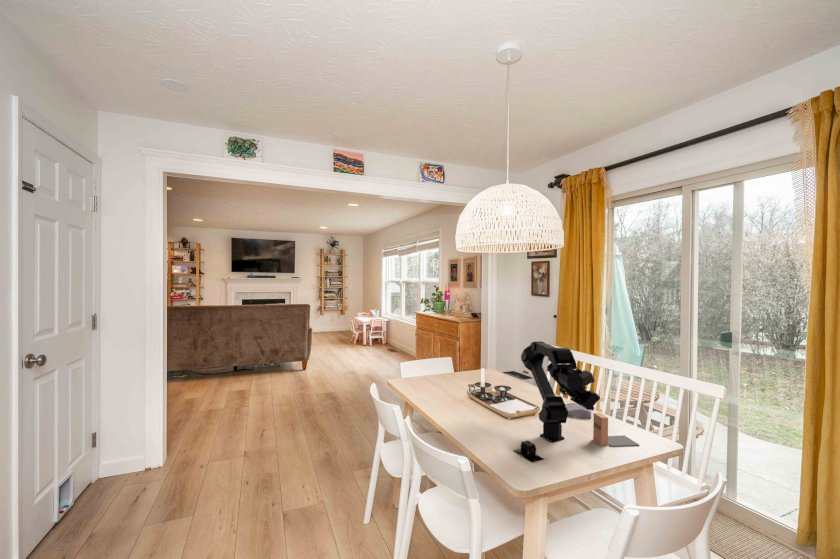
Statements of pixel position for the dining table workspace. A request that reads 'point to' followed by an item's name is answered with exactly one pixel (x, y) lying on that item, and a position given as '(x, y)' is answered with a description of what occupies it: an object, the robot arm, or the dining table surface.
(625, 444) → the charcoal mat
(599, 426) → the terracotta block
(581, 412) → the stone block
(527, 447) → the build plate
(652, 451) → the dining table surface
